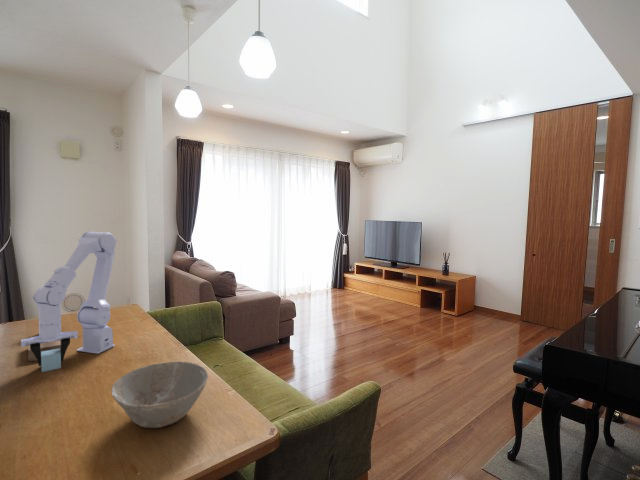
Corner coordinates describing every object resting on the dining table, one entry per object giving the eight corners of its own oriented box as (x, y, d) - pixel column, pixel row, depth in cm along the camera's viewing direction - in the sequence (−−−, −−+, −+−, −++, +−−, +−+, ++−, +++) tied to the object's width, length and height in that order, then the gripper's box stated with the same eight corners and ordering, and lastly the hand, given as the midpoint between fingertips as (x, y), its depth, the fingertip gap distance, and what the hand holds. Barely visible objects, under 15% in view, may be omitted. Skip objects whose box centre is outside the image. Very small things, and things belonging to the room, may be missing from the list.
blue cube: (60, 362, 117) (60, 348, 116) (61, 368, 113) (60, 353, 113) (41, 366, 114) (41, 351, 113) (41, 372, 110) (41, 356, 109)
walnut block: (63, 342, 134) (62, 332, 133) (64, 354, 123) (64, 344, 122) (29, 348, 127) (29, 337, 127) (28, 361, 116) (27, 350, 116)
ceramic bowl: (179, 386, 104) (179, 354, 103) (224, 416, 90) (225, 379, 89) (96, 418, 87) (96, 380, 86) (136, 462, 72) (135, 417, 72)
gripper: (20, 330, 104) (21, 373, 106) (78, 322, 114) (78, 361, 115) (21, 324, 110) (22, 365, 111) (76, 316, 119) (77, 354, 120)
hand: (51, 363), depth 113 cm, fingers closed on blue cube, 5 cm apart
